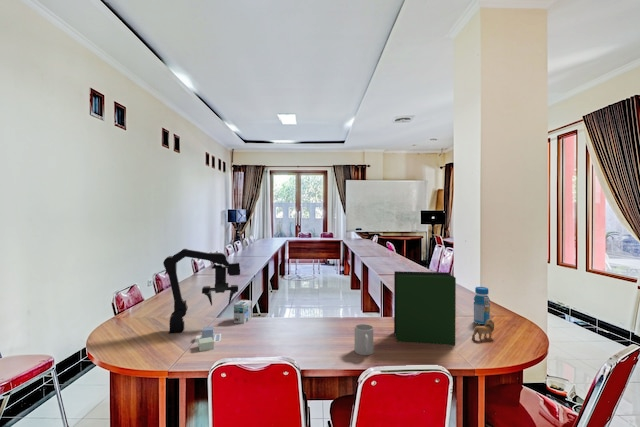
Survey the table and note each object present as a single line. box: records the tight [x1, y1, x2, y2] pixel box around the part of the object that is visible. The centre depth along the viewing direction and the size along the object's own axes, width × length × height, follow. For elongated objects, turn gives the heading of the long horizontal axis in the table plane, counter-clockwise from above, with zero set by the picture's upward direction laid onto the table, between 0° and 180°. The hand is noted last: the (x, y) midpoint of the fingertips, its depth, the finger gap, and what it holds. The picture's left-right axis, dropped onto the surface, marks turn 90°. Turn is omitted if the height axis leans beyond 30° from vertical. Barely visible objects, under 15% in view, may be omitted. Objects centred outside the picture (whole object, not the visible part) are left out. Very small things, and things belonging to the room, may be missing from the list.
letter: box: [193, 333, 222, 345], centre depth 165 cm, size 12×11×1 cm
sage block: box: [197, 337, 215, 352], centre depth 154 cm, size 6×6×4 cm
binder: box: [393, 270, 457, 346], centre depth 168 cm, size 27×15×32 cm, turn 83°
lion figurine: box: [471, 319, 495, 342], centre depth 167 cm, size 15×5×9 cm, turn 120°
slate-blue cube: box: [201, 325, 215, 339], centre depth 165 cm, size 5×5×5 cm
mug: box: [353, 323, 374, 356], centre depth 150 cm, size 12×8×11 cm
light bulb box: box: [233, 299, 253, 325], centre depth 194 cm, size 11×7×11 cm, turn 168°
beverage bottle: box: [473, 286, 491, 325], centre depth 191 cm, size 8×8×20 cm
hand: (220, 304), depth 183 cm, fingers open, 9 cm apart
